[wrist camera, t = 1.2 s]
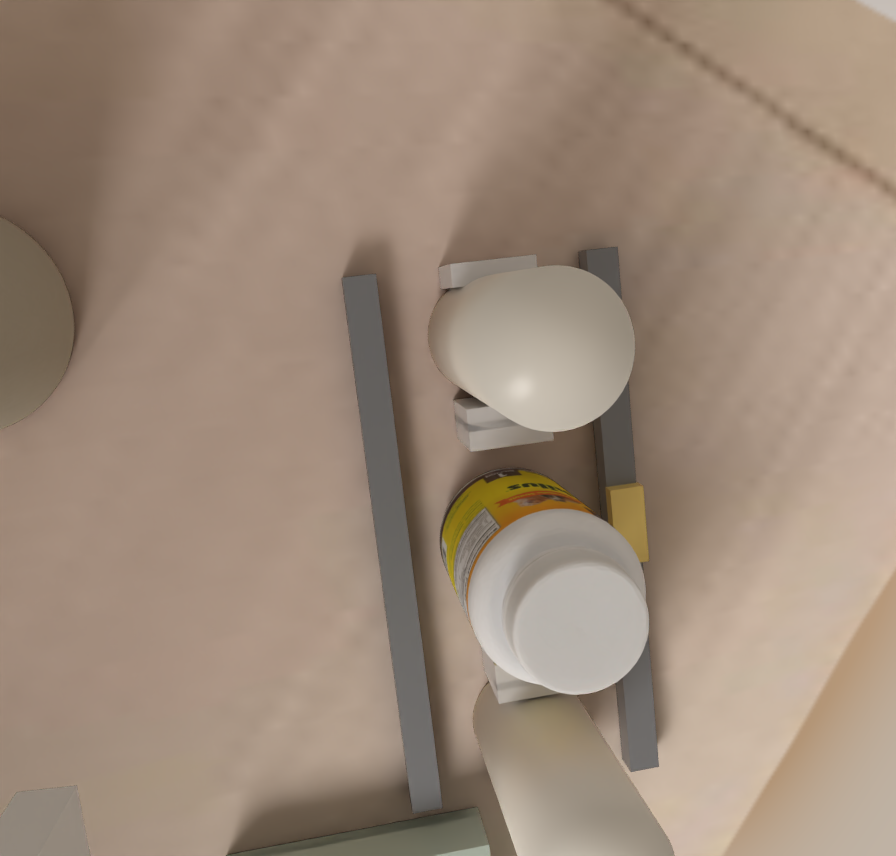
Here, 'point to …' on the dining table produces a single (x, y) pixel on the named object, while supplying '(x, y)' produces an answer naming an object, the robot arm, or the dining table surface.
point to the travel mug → (30, 325)
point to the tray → (397, 839)
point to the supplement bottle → (545, 582)
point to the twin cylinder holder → (622, 505)
